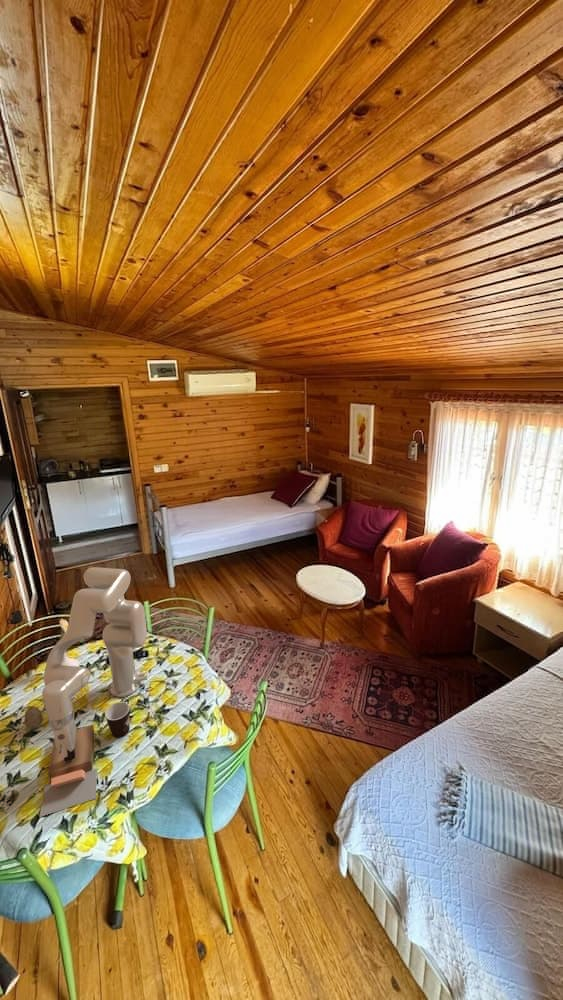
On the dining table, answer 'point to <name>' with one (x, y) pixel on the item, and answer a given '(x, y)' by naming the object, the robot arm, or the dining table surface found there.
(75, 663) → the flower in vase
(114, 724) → the coffee mug
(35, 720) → the decorative egg
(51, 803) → the mat
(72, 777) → the salmon orange flat block
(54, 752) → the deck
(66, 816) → the dining table surface
